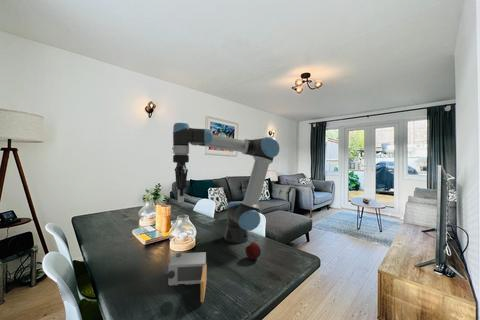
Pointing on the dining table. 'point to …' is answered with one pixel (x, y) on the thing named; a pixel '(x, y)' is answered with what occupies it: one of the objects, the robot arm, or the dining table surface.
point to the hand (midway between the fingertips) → (180, 202)
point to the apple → (253, 251)
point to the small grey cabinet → (186, 268)
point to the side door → (203, 282)
